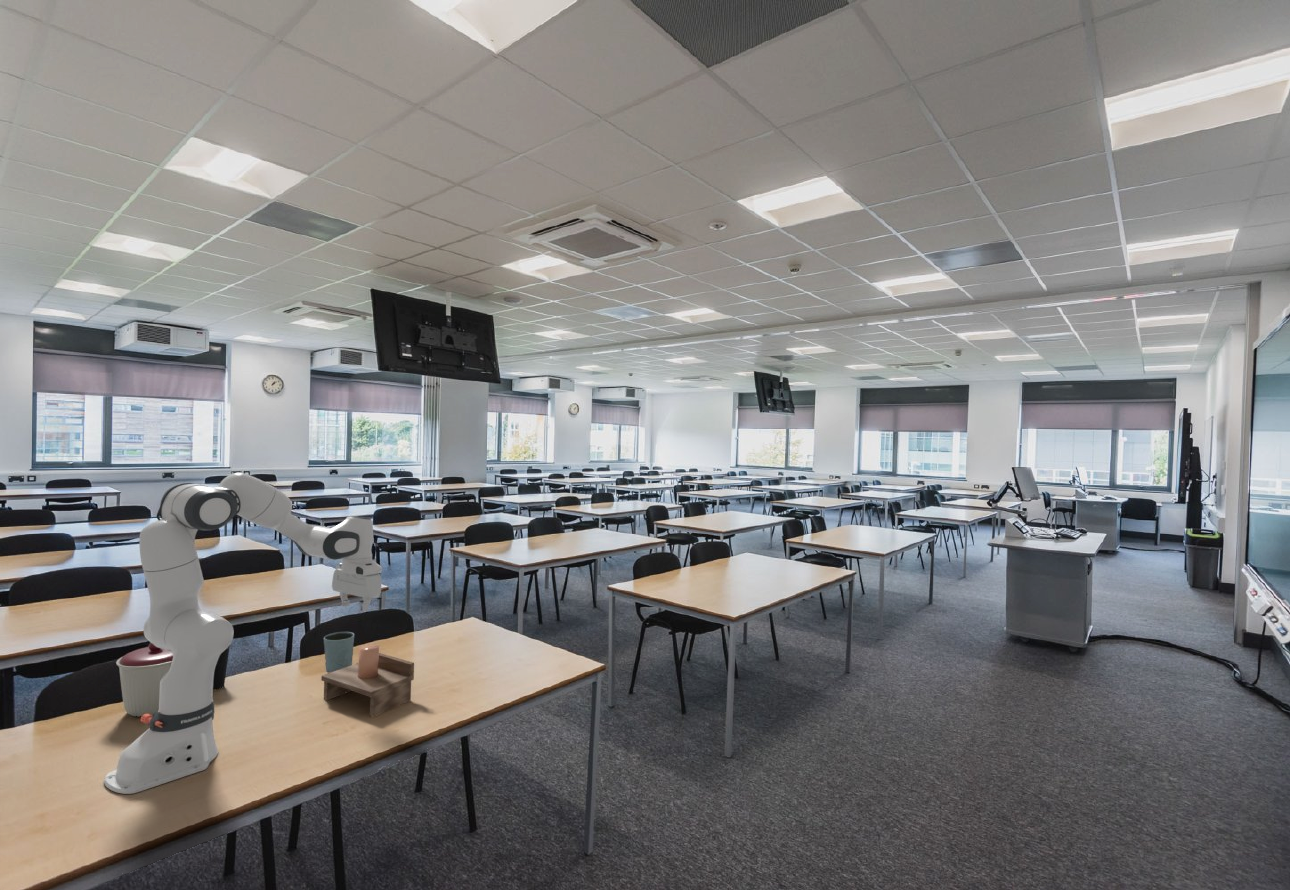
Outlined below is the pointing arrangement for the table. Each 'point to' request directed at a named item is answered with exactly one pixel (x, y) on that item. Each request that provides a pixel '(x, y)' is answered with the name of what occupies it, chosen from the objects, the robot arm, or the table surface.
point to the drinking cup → (221, 670)
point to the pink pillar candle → (368, 661)
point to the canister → (143, 678)
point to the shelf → (374, 683)
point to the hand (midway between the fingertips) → (354, 608)
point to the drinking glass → (338, 650)
